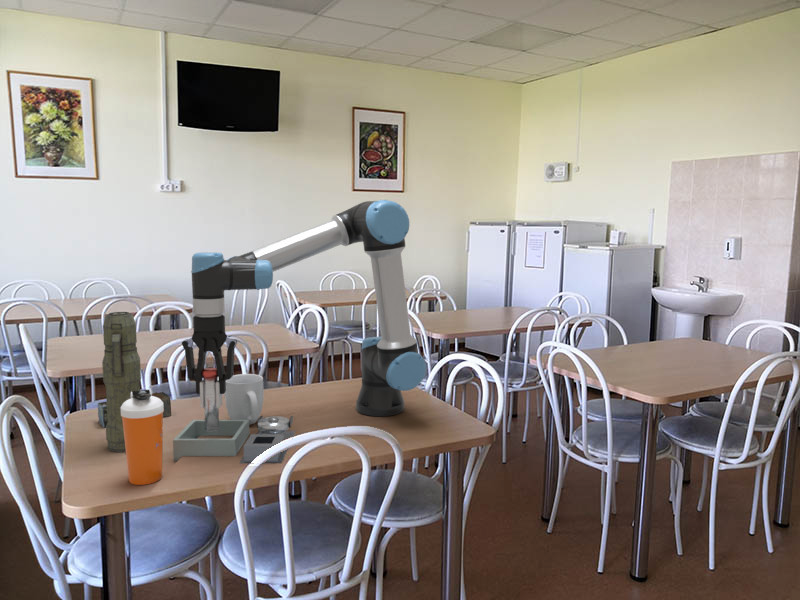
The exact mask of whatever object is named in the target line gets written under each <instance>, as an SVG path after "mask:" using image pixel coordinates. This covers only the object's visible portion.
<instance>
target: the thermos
mask: <svg viewBox="0 0 800 600" xmlns="http://www.w3.org/2000/svg"><path fill="white" fill-rule="evenodd" d="M102 333H103V336H102V337H103V345H104V349H103V350H104V352H103V353H104V355H103V360H102V364H101V365H102V381H103V383H104V385H105V393H106V396H105V397H106V398H105V400H106V402H107V417H108V423H107V426H106V428H105V436H106V437H105V438H106V442H107V450H108V451H109V452H112V453H122V452H123V453H126V449H125V440H124V430H123V421H122V417H121V406H122V404H123V403H124V402H125V401H126V400H128V399H131V392H132V391H140V390H141V389H140V382H141V380H142V372H141V371H142V370H141V358H140V356H139V352H138V347H137V341H138V339H137V323H136V320H135V318H134V316H133V313H132V312H131V313H130V312H129V311H114V312H109V313H108V314H106V315H105V317H104V321H103V324H102Z"/></svg>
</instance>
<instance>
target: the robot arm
mask: <svg viewBox="0 0 800 600" xmlns="http://www.w3.org/2000/svg"><path fill="white" fill-rule="evenodd" d="M409 230H410V218H409V215H408V213H407V211H406V210H405V208H404V207H403V206H402V205H400V204H399V203H397V202H396V201H392V200H388V199H380V200H371V201H370V200H369V201H368V200H367V201H362V202H359V203H358V204H355V205H354V206H352V207H350V208H347V209H346V210H344V211H342V212H339V213H337V214H334V215H333V216H332V217H331V220H329V221H325V222H323V223H321V224H318V225H315V226H313V227H309V228H308V229H306V230H303V231H301V232H297V233H294V234H292V235H290V236H287V237H284V238H282V239H279V240H277V241H275V242H272V243H270V244H267V245H264V246H261V247H259V248H257V249H253V250H251V251H249V252H247V253H246V252H245V253H244V254H241V255H238V256H237V255H236V256H235V255H234V256H232V257H230V258H228V259H225V258H224V255H223V253H222V252H212V251H211V252H208V251H205V252H203V251H202V252H195V253H193V254H192V257H191V271H190V273H191V287H192V289H191V290H192V291H191V292H192V314H193V315H194V316H193V317H192V321H193V322H192V324H193V326H192V329H193V334H192V335H191V337H190V338H188V339H187V338H186V339H184V340H183V341H181V345H182V348H183V349H184V354H185V355H184V356H185V364H186V374H187V378H188V380H193V381H194V382H195V392H196V394H197V395H199V402H200V404H199V407H200V408H201V409H202V408H204V378H203V377H202V370H203V369H205V366H206V365H205V364H206V357H207V353H208V352H210V353H212V356H213V358H214V363H215V368H216V369H217V374H218V381H217V382H216V408H219V409H220V408H221V406H222V405H223V395H225V391H226V380H229V379H230V378H231V377H232V376H233V375H234V363H235V349H236V346H237V344H238V340H237V339H231V338H230V337H228V335H227V333H226V317H225V291H236V290H237V291H243V290H246V291H247V290H251V291H253V290H257V291H260V290H266V289H270V288H271V287H272V285H273V280H274V272H276V271H279V270H281V269H283V268H286V267H289V266H291V265H293V264H296V263H299V262H302V261H303V260H307V259H308V258H311V257H314V256H315V255H319V254H322V253H323V252H326V251H329V250H331V249H334V248H335V247H338V246H344V247H347V246H350V245H353V244H356V243H362V244H363V251H364V253H366V254H367V255H368V256H369V257H370V263H371V270H372V280H373V285H374V292H375V299H376V300H375V301H376V308H377V316H378V324H379V329H380V330H379V331H380V332H379V333H380V336H372V337H366V338H364V339H362V342H361V349H360V350H361V386H360V389H359V392H358V396H357V399H356V403H355V404H356V407H355V409H356V411H357V412H358V413H359V414H362V415H366V416H370V417H386V416H387V417H388V416H394V415H398V414H401V413H402V412H404V411H405V400H404V397H403V394H402V391H403V392H404V391H411V390H413V389H415V388H416V387H418V386H419V385H420V384H421V382H422V381H423V380H424V378H425V375H426V373H427V363H426V361H425V359H424V358H423V356H422V355H421V354H420V353H419V350H418V341H417V338H415V337H414V336H412V334H411V328H410V327H411V326H410V318H409V310H408V302H407V295H406V286H405V278H404V268H403V258H402V252H403V251H404V250H405V248H406V240H405V238H406V237H407V234H408V233H409ZM225 343H226V348H227V350H226V351H227V352H226V366H224V361H223V359H224V358H223V354H222V353H223V351H222V347H223V346H224V344H225ZM194 344H195V346H196V347H197V348H198V353H197V355H198V358H197V363H196V364H195V356H194V354H195V353H194V348H193V347H194ZM195 365H196V366H195ZM225 367H226V368H225ZM225 369H226V370H225Z"/></svg>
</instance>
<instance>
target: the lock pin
mask: <svg viewBox="0 0 800 600" xmlns="http://www.w3.org/2000/svg"><path fill="white" fill-rule="evenodd" d="M202 377H203V380H204V420H205V431H207V432H213V431H217V430H219V420H220V417H219V416H220V415H219V414H220V413H219V411H220V410H219V409H220V408H216V382H217V381H218V380H219V379H218V374H217V369H216V367H206V368H205V367H204V369H203V370H202Z"/></svg>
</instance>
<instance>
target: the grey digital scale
mask: <svg viewBox="0 0 800 600" xmlns="http://www.w3.org/2000/svg"><path fill="white" fill-rule="evenodd" d="M293 423H294V415H290V418H287V417H286V416H285V417H284V416H279V415H277V416H275V415H273V416H266V417H264V416H263V415H260V416H259V418H258V420H257V421H256V428H257V433H254V434H253V433H251V434H249V436H248V437H247V439H246V441H245V442H244V444H243V456H242V458H241V460H240V462H239V464H252V463H251V462H252V461H253V460H254V459H255V458H256V457H257V456H259V455H260V454H262V453H263V452H264V451H266V450H267V449H269V448H271V447H272V446H274V445H276V444H278V443H280V442H281V441H283V440H285V439H288V438H290V437H293V438H294V436H295V435H296V430H289V429H290V428H291V427H292V424H293ZM288 449H289V448H288ZM288 449H287V450H285V451H283V452H280V453H278V454H276V455H274V456H273V457H271V458H270V459H269V460H267V461H266V462H265V463H264V464H282V463H283V461H284V459H285V457H286V455H287V452H288Z"/></svg>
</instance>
